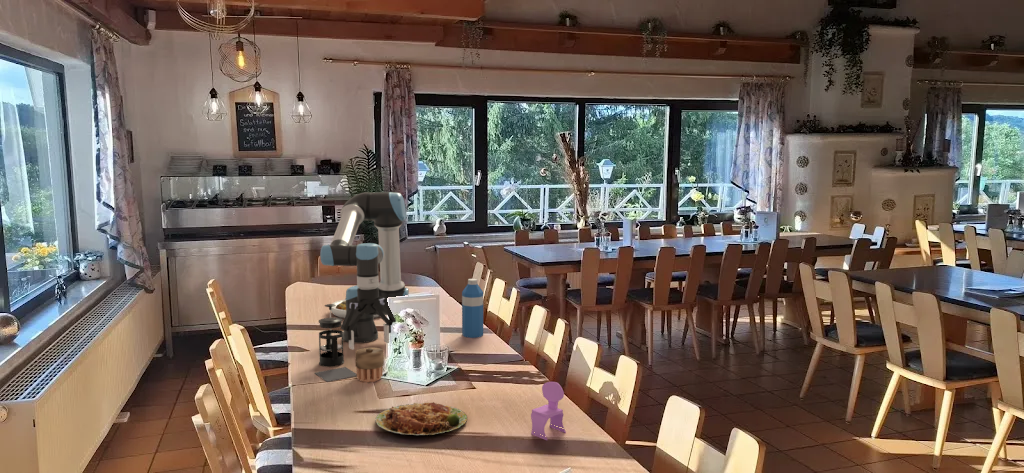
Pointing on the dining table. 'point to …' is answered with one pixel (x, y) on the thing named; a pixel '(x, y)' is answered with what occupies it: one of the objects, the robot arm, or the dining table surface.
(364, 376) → the orange ridged cylinder
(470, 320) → the water bottle
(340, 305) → the bowl
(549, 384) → the toy chair
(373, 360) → the tan squat cylinder
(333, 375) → the mat
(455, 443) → the dining table surface
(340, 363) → the french press
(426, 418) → the rice dish
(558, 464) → the dining table surface
